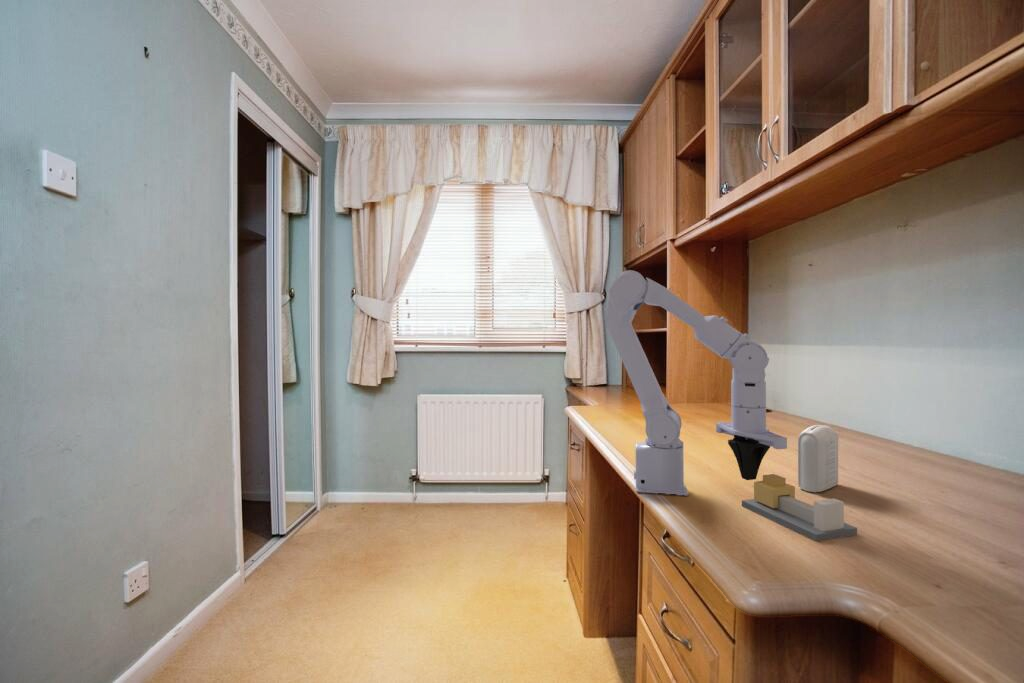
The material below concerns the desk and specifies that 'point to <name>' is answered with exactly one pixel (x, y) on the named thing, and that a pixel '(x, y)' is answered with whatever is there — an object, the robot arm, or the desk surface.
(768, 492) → the slider
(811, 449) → the photo printer
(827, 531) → the rail board
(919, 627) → the desk surface
